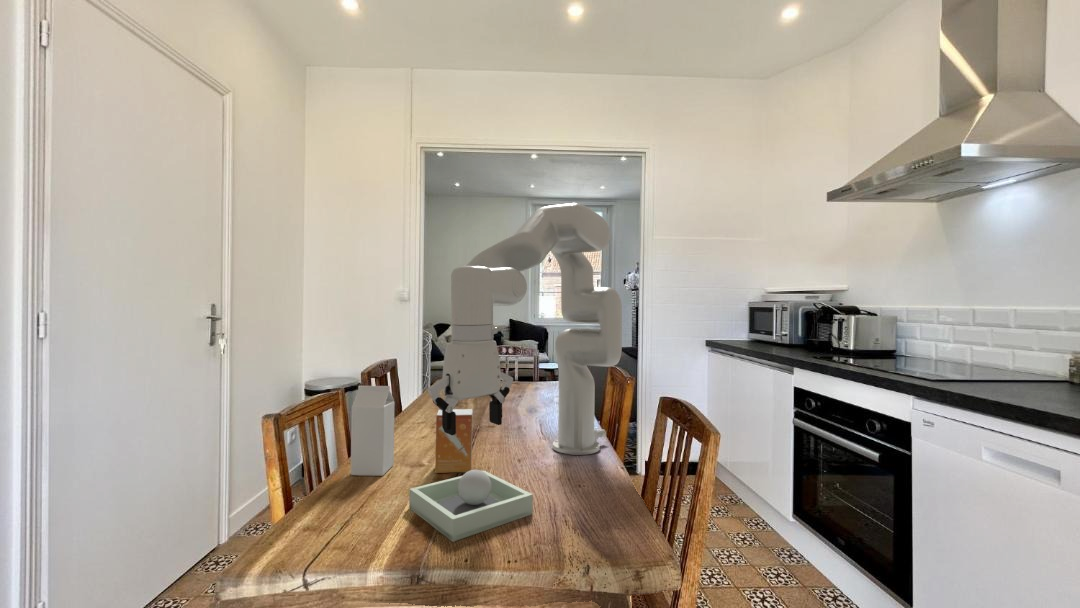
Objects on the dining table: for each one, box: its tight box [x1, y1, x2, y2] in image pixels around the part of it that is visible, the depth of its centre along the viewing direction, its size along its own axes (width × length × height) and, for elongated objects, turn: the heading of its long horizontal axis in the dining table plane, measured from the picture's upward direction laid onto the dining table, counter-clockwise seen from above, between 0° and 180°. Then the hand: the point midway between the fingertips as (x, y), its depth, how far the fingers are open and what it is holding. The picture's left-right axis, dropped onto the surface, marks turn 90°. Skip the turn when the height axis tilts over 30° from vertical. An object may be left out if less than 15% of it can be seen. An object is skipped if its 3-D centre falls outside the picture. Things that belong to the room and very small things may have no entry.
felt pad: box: [436, 496, 499, 515], centre depth 84 cm, size 10×10×1 cm
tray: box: [408, 470, 534, 543], centre depth 84 cm, size 16×16×4 cm
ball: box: [458, 469, 491, 505], centre depth 85 cm, size 6×6×6 cm
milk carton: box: [350, 385, 395, 477], centre depth 105 cm, size 7×7×19 cm
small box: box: [434, 408, 474, 474], centre depth 107 cm, size 8×6×13 cm
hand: (473, 428), depth 85 cm, fingers open, 9 cm apart
